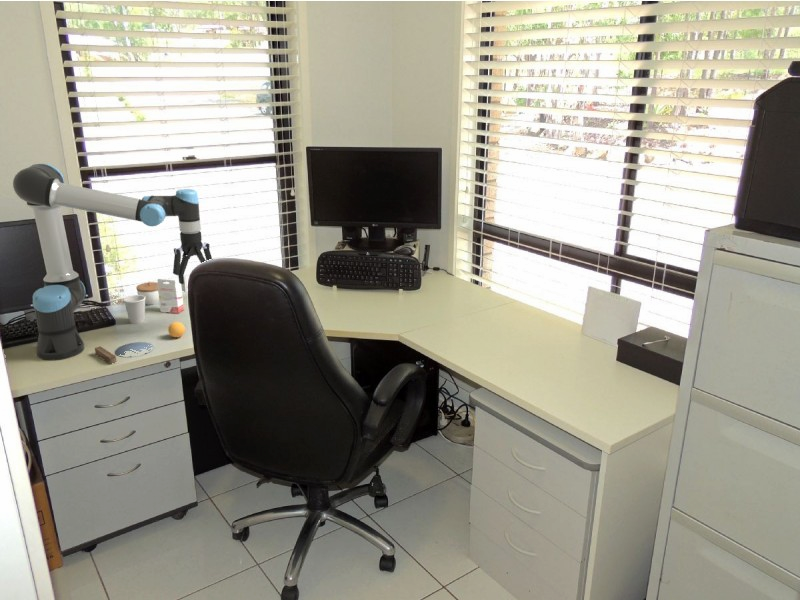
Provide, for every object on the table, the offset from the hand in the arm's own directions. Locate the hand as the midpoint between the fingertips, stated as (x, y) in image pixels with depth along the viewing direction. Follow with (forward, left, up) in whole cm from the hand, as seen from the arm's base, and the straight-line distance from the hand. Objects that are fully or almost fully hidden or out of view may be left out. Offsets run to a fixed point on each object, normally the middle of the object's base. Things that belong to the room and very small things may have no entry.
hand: (195, 288), depth 240 cm
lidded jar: (+2, +43, -18) cm, 47 cm away
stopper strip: (-37, 0, -17) cm, 41 cm away
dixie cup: (-13, +26, -18) cm, 34 cm away
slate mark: (-27, 0, -17) cm, 32 cm away
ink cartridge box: (+3, +27, -18) cm, 32 cm away
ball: (-10, 0, -14) cm, 17 cm away
